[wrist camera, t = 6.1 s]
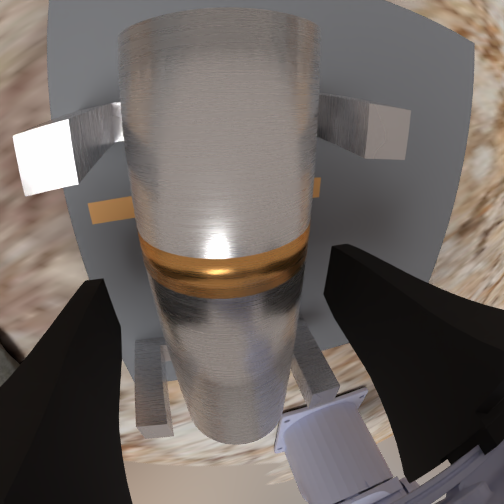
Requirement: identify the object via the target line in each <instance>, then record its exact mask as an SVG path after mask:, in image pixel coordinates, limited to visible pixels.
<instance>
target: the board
mask: <svg viewBox="0 0 504 504" xmlns="http://www.w3.org/2000/svg"><path fill="white" fill-rule="evenodd" d="M219 7H239V8H256V9H265V10H272V11H278V12H283V13H288V14H292V15H295V16H299V17H302V18H305V19H307V20H309V21H312V22H314V23H315V24H317V25H318V26H319V27H320V29H321V51H320V89H319V93H327V94H334V95H340V96H346V97H352V98H358V99H363V100H368V101H373V102H378V103H382V104H387V105H391V106H395V107H399V108H403V109H407V110H411V116H410V125H409V134H408V141H407V149H406V155H405V160H393V159H364V158H362V157H360V156H358V155H356V154H354V153H352V152H350V151H348V150H346V149H343V148H341V147H339V146H337V145H335V144H333V143H330V142H328V141H326V140H324V139H321V138H319V137H317V146H316V161H315V174H314V186H313V197H312V208H311V223H310V232H309V241H308V250H307V257H306V264H305V272H304V280H303V288H302V295H301V303H300V310H299V314H301V316H302V317H303V319H304V321H305V323H306V325H307V326H308V328H309V330H310V332H311V334H312V335H313V337H314V339H315V341H316V343H317V345H318V346H319V348H320V350H321V351H322V350H326V349H330V348H333V347H337V346H340V345H343V344H347V343H349V341H348V340H347V338H346V337H345V335H344V333H343V332H342V330H341V329H340V327H339V325H338V324H337V322H336V320H335V319H334V317H333V315H332V313H331V311H330V309H329V306H328V304H327V302H326V299H325V297H324V295H323V293H324V287H325V282H326V276H327V271H328V265H329V259H330V253H331V247H332V246H334V245H341V244H350V245H353V246H355V247H357V248H359V249H362V250H364V251H366V252H368V253H370V254H372V255H374V256H376V257H378V258H380V259H381V260H383V261H385V262H387V263H389V264H391V265H393V266H395V267H397V268H399V269H401V270H403V271H405V272H406V273H408V274H410V275H412V276H414V277H416V278H419V279H421V280H423V281H425V282H427V283H428V282H429V280H430V277H431V274H432V272H433V269H434V266H435V263H436V260H437V258H438V255H439V252H440V249H441V246H442V243H443V239H444V236H445V233H446V230H447V226H448V223H449V220H450V216H451V212H452V209H453V205H454V201H455V197H456V193H457V189H458V185H459V180H460V176H461V171H462V166H463V161H464V156H465V150H466V144H467V138H468V131H469V124H470V116H471V107H472V96H473V82H474V43H473V42H471V41H469V40H468V39H466V38H464V37H463V36H461V35H459V34H457V33H455V32H454V31H452V30H450V29H448V28H446V27H444V26H442V25H440V24H438V23H436V22H434V21H432V20H430V19H428V18H426V17H424V16H422V15H419V14H417V13H415V12H413V11H410V10H408V9H405V8H403V7H400V6H398V5H395V4H393V3H390V2H387V1H385V0H49V10H48V28H47V68H48V87H49V100H50V111H51V120H52V119H55V118H58V117H61V116H63V115H66V114H69V113H72V112H75V111H78V110H82V109H87V108H91V107H96V106H100V105H105V104H111V103H116V102H120V90H119V69H118V35H119V34H120V33H121V32H122V31H123V30H124V29H126V28H128V27H130V26H132V25H134V24H136V23H139V22H141V21H144V20H147V19H150V18H153V17H157V16H161V15H165V14H169V13H174V12H180V11H186V10H194V9H203V8H219ZM63 190H64V194H65V198H66V202H67V206H68V210H69V214H70V218H71V222H72V226H73V229H74V233H75V236H76V240H77V243H78V246H79V249H80V253H81V256H82V259H83V262H84V265H85V268H86V271H87V274H88V277H89V279H90V280H94V279H101V278H104V281H105V284H106V287H107V290H108V293H109V296H110V299H111V302H112V304H113V307H114V310H115V312H116V315H117V318H118V320H119V323H120V325H121V337H122V359H123V361H124V363H125V365H126V367H127V369H128V371H129V373H130V375H131V377H132V379H133V381H134V382H135V341H136V340H144V339H152V338H160V337H164V335H163V332H162V328H161V325H160V321H159V318H158V314H157V311H156V307H155V303H154V299H153V295H152V291H151V287H150V283H149V279H148V275H147V271H146V267H145V264H144V259H143V255H142V250H141V246H140V241H139V236H138V231H137V224H136V218H135V213H134V207H133V201H132V195H131V189H130V183H129V176H128V169H127V162H126V154H125V146H124V141H118V142H114V143H113V144H112V146H111V147H110V148H109V149H108V150H107V151H106V152H105V153H104V154H103V156H102V157H101V158H100V159H99V160H98V161H97V163H96V164H95V165H94V166H93V167H92V168H91V170H90V171H89V172H88V173H87V174H86V176H85V177H84V178H83V179H82V181H81V182H80V183H79V184H77V185H72V186H68V187H63ZM165 363H166V374H167V381H173V380H178V379H177V377H176V374H175V371H174V367H173V364H172V361H166V362H165Z"/></svg>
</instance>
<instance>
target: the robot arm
mask: <svg viewBox="0 0 504 504" xmlns="http://www.w3.org/2000/svg"><path fill="white" fill-rule="evenodd" d="M323 295H324V297H325V299H326V302H327V304H328V306H329V309H330V311H331V313H332V315H333V317H334V319H335V320H336V322H337V324H338V325H339V327H340V329H341V330H342V332H343V333H344V335H345V337H346V338H347V340H348V341H349V343H350V344H351V346H352V347H353V349H354V351H355V352H356V354H357V355H358V357H359V359H360V360H361V362H362V363H363V365H364V366H365V368H366V370H367V372H368V374H369V375H370V377H371V379H372V381H373V384H374V386H375V388H376V390H377V392H378V395H379V397H380V399H381V401H382V404H383V406H384V409H385V411H386V414H387V416H388V419H389V422H390V425H391V428H392V431H393V434H394V437H395V440H396V443H397V446H398V450H399V454H400V458H401V462H402V467H403V471H404V475H405V477H404V478H402V479H400V480H399V479H398V477H397V476H396V477H395V478H393V475H392V473H391V471H390V469H389V467H388V466H387V463H386V462H385V460H384V458H383V456H382V454H381V452H380V450H379V449H378V447H377V445H376V443H375V441H374V439H373V437H372V435H371V434H370V432H369V430H368V428H367V426H366V424H365V423H364V421H363V419H362V417H361V415H360V413H359V412H358V408H359V406H360V405H361V403H362V401H363V400H364V398H365V396H366V394H367V393H368V389H367V388H366V387H364V388H361V389H358V390H356V391H353V392H350V393H347V394H345V395H342V396H339V397H336V398H335V399H334V401H331V402H328V403H325V404H321V405H318V406H315V407H312V408H308V407H304V408H301V409H297V410H294V411H290V412H286V413H284V414H282V416H281V418H280V422H279V427H278V432H277V437H276V442H275V447H274V452H275V453H281V452H285V454H286V457H287V460H288V462H289V465H290V468H291V470H292V473H293V475H294V478H295V480H296V483H297V486H298V488H299V491H300V493H301V495H302V497H303V498H304V499H305V500H306V501H307V502H308V503H309V504H431V503H433V502H434V501H436V500H437V499H439V498H440V497H441V496H443V495H444V494H445V493H446V498H445V499H443V500H441V501H439V502H437V503H435V504H504V310H502V309H498V308H494V307H491V306H487V305H484V304H481V303H477V302H474V301H471V300H468V299H465V298H463V297H460V296H457V295H455V294H452V293H450V292H447V291H445V290H442V289H440V288H438V287H435V286H433V285H431V284H429V283H427V282H425V281H423V280H421V279H419V278H416V277H414V276H412V275H410V274H408V273H406V272H405V271H403V270H401V269H399V268H397V267H395V266H393V265H391V264H389V263H387V262H385V261H383V260H381V259H380V258H378V257H376V256H374V255H372V254H370V253H368V252H366V251H364V250H362V249H359V248H357V247H355V246H353V245H350V244H341V245H334V246H332V247H331V253H330V259H329V265H328V271H327V276H326V282H325V287H324V293H323ZM121 364H122V337H121V325H120V323H119V320H118V318H117V315H116V312H115V310H114V307H113V304H112V302H111V299H110V296H109V293H108V290H107V287H106V284H105V281H104V278H101V279H94V280H87V281H85V282H84V283H83V284H82V285H81V286H80V288H79V289H78V290H77V291H76V293H75V294H74V295H73V297H72V298H71V299H70V301H69V302H68V303H67V305H66V306H65V307H64V309H63V310H62V311H61V313H60V314H59V315H58V317H57V318H56V319H55V321H54V322H53V324H52V325H51V326H50V328H49V329H48V330H47V331H46V333H45V334H44V335H43V336H42V338H41V339H40V340H39V342H38V343H37V344H36V346H35V347H34V348H33V350H32V351H31V352H30V353H29V355H28V356H27V357H26V358H25V360H24V361H23V362H22V363H21V364H20V366H19V367H18V368H17V369H16V370H15V371H14V372H13V374H12V375H11V376H10V377H9V378H8V379H7V380H6V381H5V382H4V384H3V385H2V386H1V387H0V504H132V500H131V496H130V492H129V488H128V484H127V479H126V474H125V468H124V463H123V457H122V449H121V441H120V433H119V398H120V379H121ZM447 459H448V460H449V462H450V463H451V465H450V466H449V467H448V468H446V469H445V470H444V471H442V472H441V473H439V474H438V475H436V476H435V477H433V478H432V479H430V480H429V481H427V482H426V483H424V484H423V485H421V486H419V484H418V483H417V482H416V481H415V480H417V479H418V478H420V477H421V476H423V475H425V474H426V473H428V472H429V471H431V470H432V469H434V468H435V467H437V466H438V465H440V464H441V463H443V462H444V461H445V460H447ZM392 478H393V479H392ZM390 479H391V480H390Z"/></svg>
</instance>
